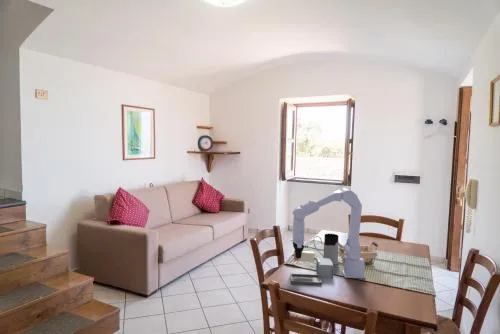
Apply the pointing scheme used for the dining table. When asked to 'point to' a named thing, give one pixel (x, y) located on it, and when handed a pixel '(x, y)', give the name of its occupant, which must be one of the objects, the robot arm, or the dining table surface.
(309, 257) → the pink-topped cream pillar
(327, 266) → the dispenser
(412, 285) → the dining table surface
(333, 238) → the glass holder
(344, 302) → the dining table surface
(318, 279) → the tray
